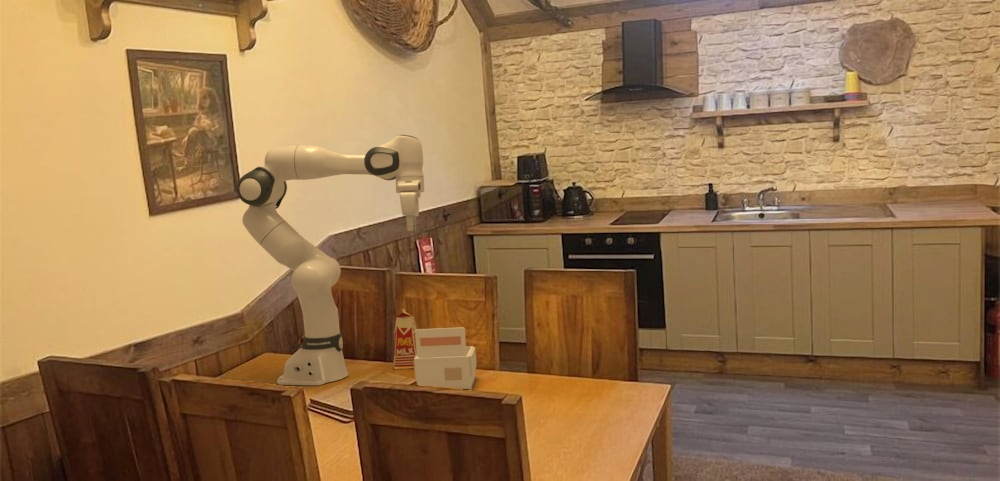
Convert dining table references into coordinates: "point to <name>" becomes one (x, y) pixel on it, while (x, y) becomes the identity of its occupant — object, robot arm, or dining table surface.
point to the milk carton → (404, 340)
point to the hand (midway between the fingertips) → (411, 230)
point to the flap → (440, 342)
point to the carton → (447, 370)
